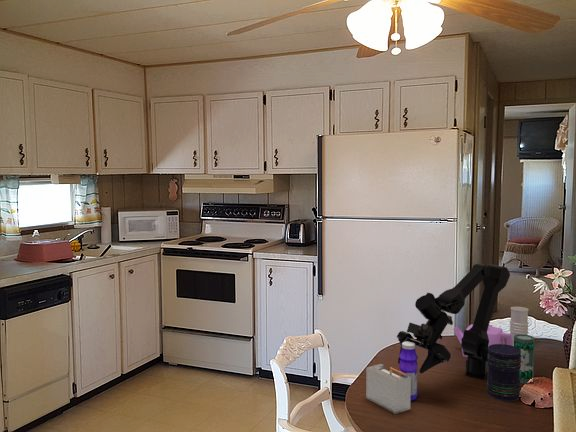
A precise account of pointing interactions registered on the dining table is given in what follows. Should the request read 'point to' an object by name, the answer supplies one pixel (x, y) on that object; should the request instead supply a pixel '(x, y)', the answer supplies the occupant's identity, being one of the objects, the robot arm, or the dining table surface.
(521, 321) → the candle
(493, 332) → the teakettle
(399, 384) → the grey open box
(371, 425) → the dining table surface
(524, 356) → the can
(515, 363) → the storage jar
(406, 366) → the bottle
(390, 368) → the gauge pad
